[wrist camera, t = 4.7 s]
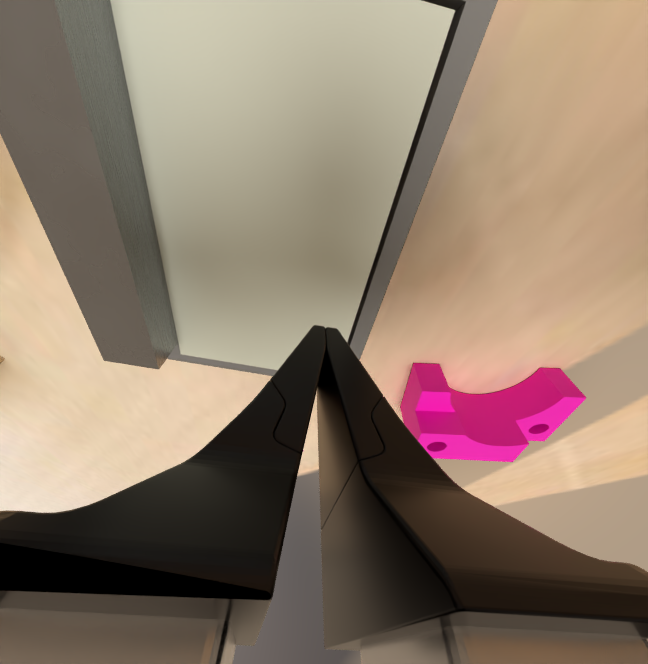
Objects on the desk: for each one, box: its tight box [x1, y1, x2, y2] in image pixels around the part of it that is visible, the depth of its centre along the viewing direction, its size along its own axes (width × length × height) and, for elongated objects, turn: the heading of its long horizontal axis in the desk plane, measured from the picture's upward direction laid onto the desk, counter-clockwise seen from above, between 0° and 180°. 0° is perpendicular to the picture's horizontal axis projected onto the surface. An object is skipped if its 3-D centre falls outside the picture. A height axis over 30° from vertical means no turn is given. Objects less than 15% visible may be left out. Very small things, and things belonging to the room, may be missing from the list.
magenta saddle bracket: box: [400, 363, 586, 462], centre depth 28 cm, size 15×6×8 cm
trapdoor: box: [0, 0, 455, 370], centre depth 13 cm, size 14×18×3 cm
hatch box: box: [168, 0, 498, 376], centre depth 17 cm, size 14×21×6 cm, turn 169°
